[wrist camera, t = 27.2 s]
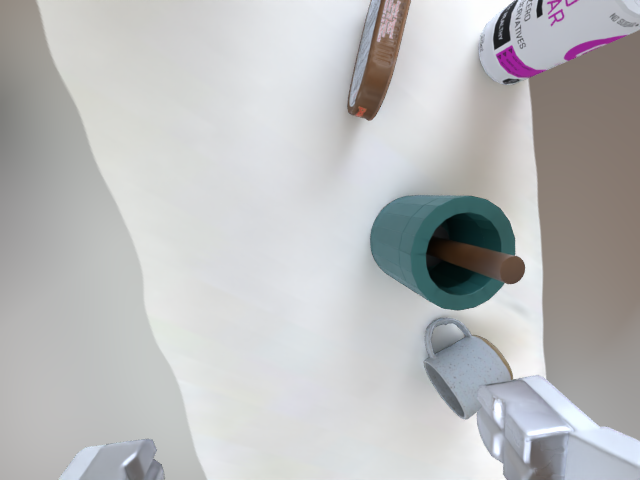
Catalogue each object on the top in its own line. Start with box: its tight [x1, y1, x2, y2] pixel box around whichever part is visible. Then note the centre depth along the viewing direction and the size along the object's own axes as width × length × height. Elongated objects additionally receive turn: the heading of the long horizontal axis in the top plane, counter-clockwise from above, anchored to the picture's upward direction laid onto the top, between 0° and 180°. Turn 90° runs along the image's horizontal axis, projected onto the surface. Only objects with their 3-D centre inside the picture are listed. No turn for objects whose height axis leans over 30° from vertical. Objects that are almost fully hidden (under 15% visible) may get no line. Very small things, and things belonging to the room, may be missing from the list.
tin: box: [347, 0, 411, 121], centre depth 32 cm, size 15×3×8 cm, turn 168°
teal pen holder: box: [370, 195, 515, 310], centre depth 35 cm, size 11×11×11 cm
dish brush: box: [426, 225, 525, 284], centre depth 32 cm, size 5×5×16 cm
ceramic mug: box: [424, 318, 513, 419], centre depth 40 cm, size 11×8×8 cm
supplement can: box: [479, 0, 640, 85], centre depth 32 cm, size 8×8×15 cm
